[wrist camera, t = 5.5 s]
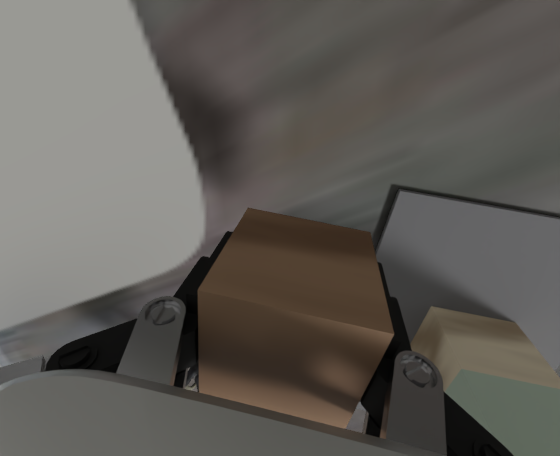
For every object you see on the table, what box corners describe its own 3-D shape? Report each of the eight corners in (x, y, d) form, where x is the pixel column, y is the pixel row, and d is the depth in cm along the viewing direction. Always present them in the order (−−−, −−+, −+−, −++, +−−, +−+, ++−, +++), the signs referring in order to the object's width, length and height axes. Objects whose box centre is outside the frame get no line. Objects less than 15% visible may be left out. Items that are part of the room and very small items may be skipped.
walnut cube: (248, 207, 11) (197, 289, 7) (370, 232, 11) (394, 334, 7) (240, 296, 14) (199, 397, 10) (339, 318, 14) (342, 433, 9)
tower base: (431, 306, 20) (461, 368, 16) (515, 322, 20) (570, 391, 16) (402, 359, 23) (420, 424, 19) (475, 374, 23) (512, 444, 18)
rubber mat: (398, 188, 17) (400, 190, 17) (675, 237, 16) (683, 241, 16) (321, 397, 28) (321, 401, 27) (486, 432, 27) (488, 437, 26)
